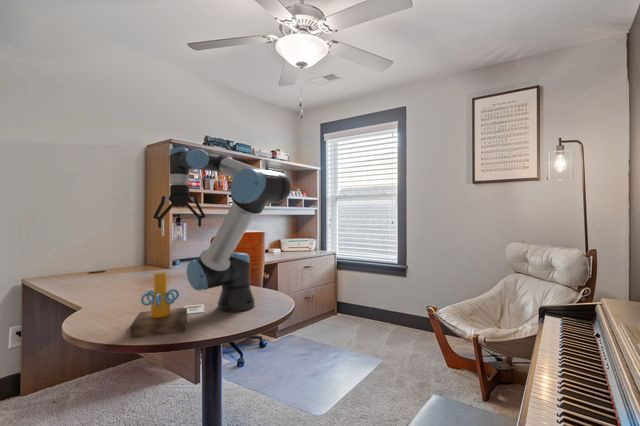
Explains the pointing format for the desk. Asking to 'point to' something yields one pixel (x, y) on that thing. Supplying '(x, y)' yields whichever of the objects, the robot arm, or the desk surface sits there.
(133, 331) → the base block
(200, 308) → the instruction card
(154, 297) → the yellow post with rings
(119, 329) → the desk surface
